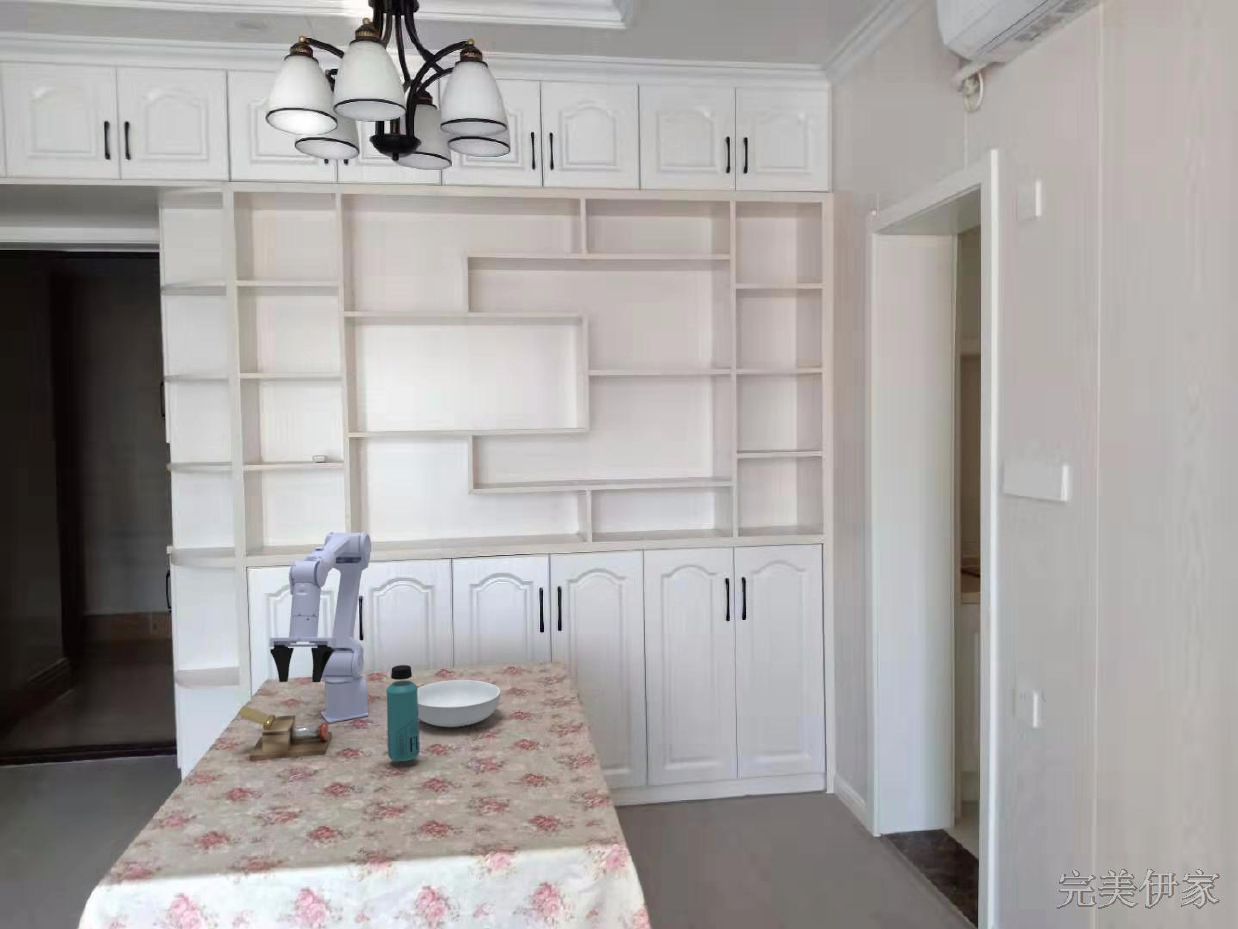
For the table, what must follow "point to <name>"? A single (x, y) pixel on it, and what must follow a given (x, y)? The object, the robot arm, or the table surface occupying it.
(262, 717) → the brass hinge flap
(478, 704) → the serving bowl
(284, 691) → the table surface
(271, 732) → the hitch block
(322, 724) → the pin
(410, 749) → the beverage bottle
